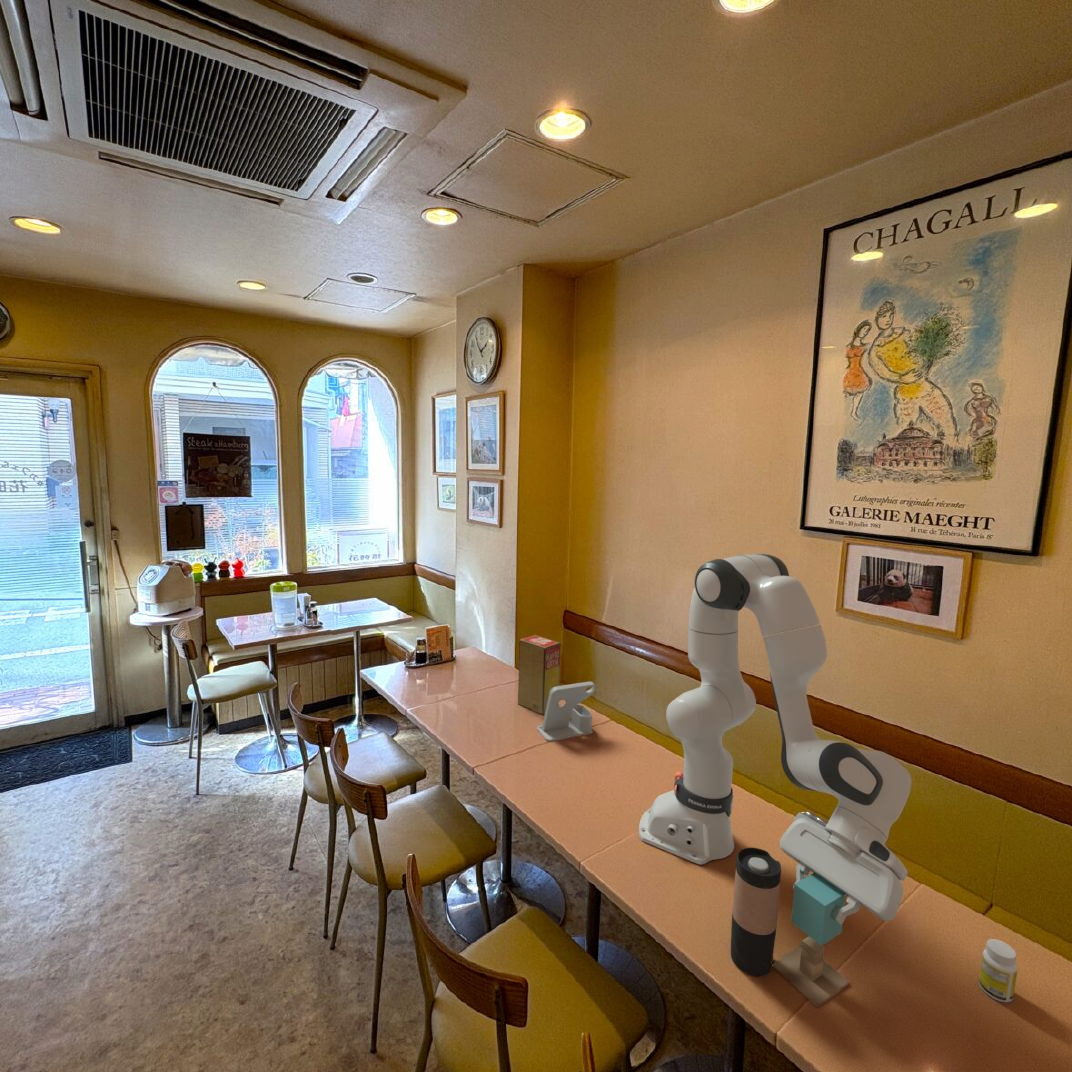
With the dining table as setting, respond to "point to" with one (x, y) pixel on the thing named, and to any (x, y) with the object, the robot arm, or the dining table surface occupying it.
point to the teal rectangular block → (817, 908)
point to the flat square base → (811, 972)
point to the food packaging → (537, 671)
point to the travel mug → (755, 911)
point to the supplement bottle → (998, 971)
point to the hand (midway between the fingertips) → (816, 906)
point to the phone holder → (567, 712)
